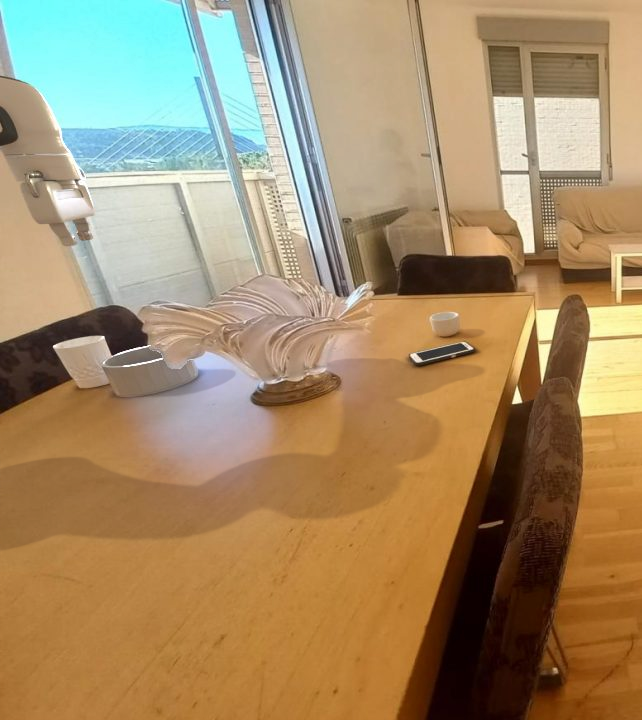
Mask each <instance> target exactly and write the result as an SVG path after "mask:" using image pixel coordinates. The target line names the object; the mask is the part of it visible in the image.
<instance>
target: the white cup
mask: <svg viewBox="0 0 642 720" xmlns="http://www.w3.org/2000/svg"><path fill="white" fill-rule="evenodd" d="M52 348H53V350H54V352H55V353H56V355H57V357H58V358H59V360H60V361H61V363H62V366H63V367H64V368H65V370H66V372H67V373H68V374H69V376H70V378H71V379H73V382H75V385H76V387H78V388H79V389H93V388H98V387H102V386H106V385H109V384H110V382H109V380H108V378H107V376H106V374H105V372H104V370H103V368H102V366H101V364H100V363H101V362H102V361H103V360H105V359H107V358H109V357H111V356H113V355H112V353H111V351H110V347H109V346H108V343H107V341H106V338H105V336H104V335H89V336H83V337H77V338H72V339H67V340H64V341H61V342H58V343H56V344H54V345H53V346H52Z"/></svg>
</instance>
